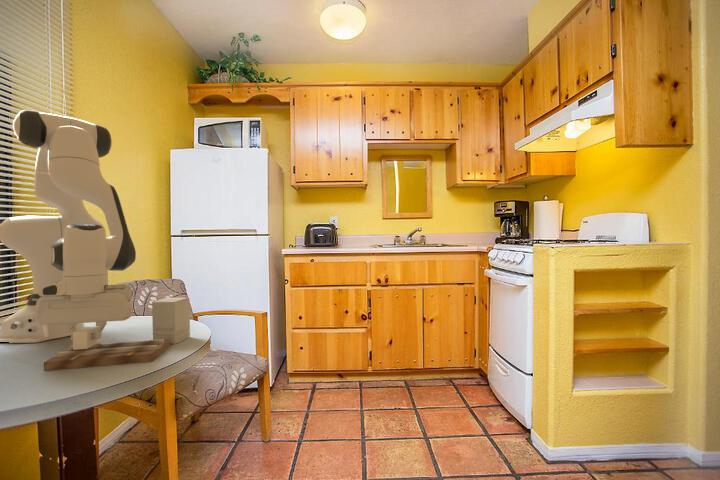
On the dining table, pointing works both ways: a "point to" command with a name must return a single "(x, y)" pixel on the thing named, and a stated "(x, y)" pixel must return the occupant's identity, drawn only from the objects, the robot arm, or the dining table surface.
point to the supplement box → (171, 319)
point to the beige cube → (85, 339)
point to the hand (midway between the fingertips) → (86, 339)
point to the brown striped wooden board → (109, 354)
